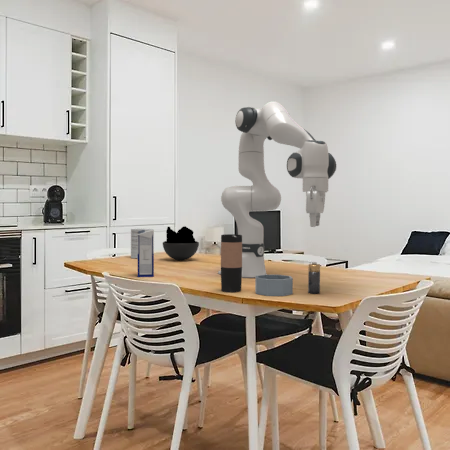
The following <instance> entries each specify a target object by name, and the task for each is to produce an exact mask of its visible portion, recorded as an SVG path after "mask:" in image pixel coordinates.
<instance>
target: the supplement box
mask: <svg viewBox="0 0 450 450" xmlns="http://www.w3.org/2000/svg"><path fill="white" fill-rule="evenodd" d="M141 230H145V231H149V230H154V229H153V228H131V229H130V259H135V258H137V259H136V260H138V234H139V233H138V231H141Z"/></svg>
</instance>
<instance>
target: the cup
mask: <svg viewBox="0 0 450 450" xmlns="http://www.w3.org/2000/svg"><path fill="white" fill-rule="evenodd" d="M254 278H255V279H254V280H255V287H254V289H255V290H254V291H255V294H256V295H261V296H265V297H285V296H290V295H293V294H294V293H293V292H294V291H293V289H294V288H293V284H294V282H293V281H294V279H293V278H294V277H292V276H291V275H284V274H267V275H258V276H255V277H254Z"/></svg>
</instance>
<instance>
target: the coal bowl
mask: <svg viewBox="0 0 450 450" xmlns="http://www.w3.org/2000/svg"><path fill="white" fill-rule="evenodd" d="M165 235H166V240H165V241H163V242H162V248H163V250H164V252H165V254H166V255H167V256H168V257H170V259H173V260H175V261H180V260H181V261H186V260H189V259H191V258H192V257H193V256H195V255H196V253H197V252H198V250H199V247H200V242H198V240H196V239H195V237H194V231H193V230H192V229H190V228H188V227H187V226H185V225H184V226H182V227H181V228H180V229H178V230H177V232H176V231H175V230H173V229H171V227H170V226H167V228H166V233H165Z"/></svg>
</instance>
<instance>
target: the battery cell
mask: <svg viewBox="0 0 450 450" xmlns="http://www.w3.org/2000/svg"><path fill="white" fill-rule="evenodd" d="M307 274H308V276H307V277H308V282H307V283H308V284H307V287H308V289H307V290H308V291H307V292H308V294H309V293H310V295H320V294H321V291H320V290H321V264H318V263H317V262H316V261H312V262H311V263H309V264H308V271H307Z"/></svg>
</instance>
